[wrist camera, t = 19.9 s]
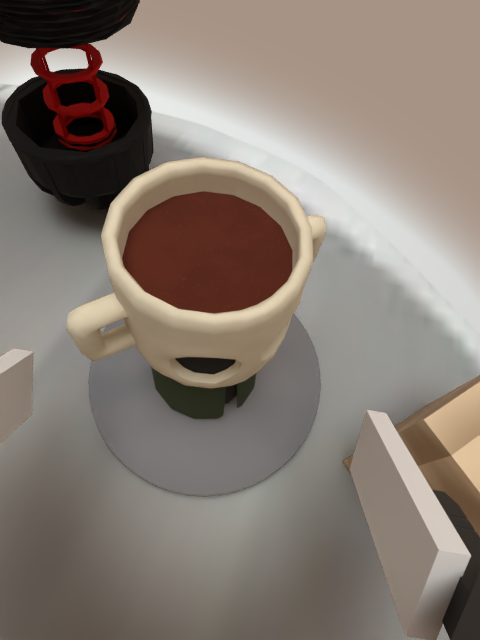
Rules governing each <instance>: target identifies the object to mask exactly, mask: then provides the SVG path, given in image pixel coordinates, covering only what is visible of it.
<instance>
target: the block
mask: <svg viewBox="0 0 480 640" xmlns="http://www.w3.org/2000/svg"><path fill="white" fill-rule="evenodd" d="M395 429H396V431H397V432H398V434H399V436H400V437H401V439H402V441H403V442H404V444H405V446H406V447H407V449H408V451H409V452H410V454H411V456H412V457H413V459H414V461H415V462H416V464H417V466H418V467H419V469H420V471H421V472H422V474H423V476H424V477H425V479H426V481H427V483H428V484H429V486H430V488H431V489H432V490H437V491H443V492H445V493H446V494H447V495H448V496H450V497H451V498H452V499H453V500H454V501H455V502H456V503H457V504H458V505H459V506H460V508H461V509H462V511H463V512H464V514H465V515H466V517H467V520H468V521H469V522H470V523H471V525H472V526H473V528H474V531H475V532H477V534H478V535H479V537H480V375H479V376H478V377H476V378H474V379H472V380H471V381H469V382H467V383H465V384H463V385H462V386H460V387H458V388H456V389H455V390H453V391H451V392H449V393H448V394H446V395H444V396H442V397H441V398H439V399H437V400H435V401H434V402H432V403H430V404H428V405H427V406H425V407H424V408H422V409H421V410H419V411H418V412H416V413H415V414H413V415H412V416H410V417H409V418H407V419H406V420H404V421H403V422H401V423H400V424H398V425H397V426H395ZM353 455H354V454H353ZM353 455H351V456H350V457H348V458H347V459H345V460H344V461H342V462H343V463H344V465H345V466H346V468H347V469H348V471H349V472H350V466H351V462H352V459H353ZM350 474H351V472H350Z"/></svg>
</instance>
